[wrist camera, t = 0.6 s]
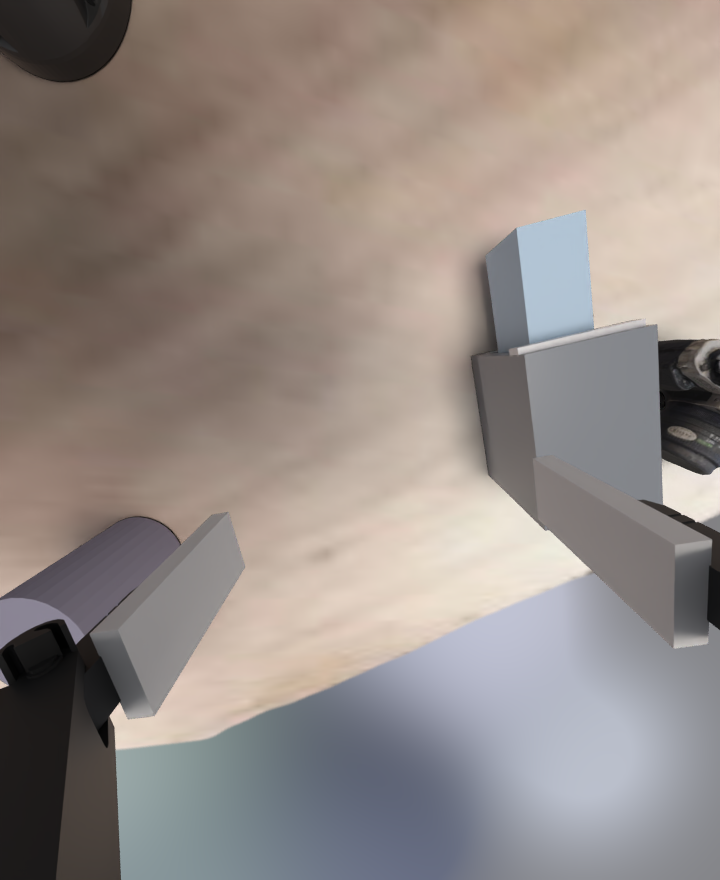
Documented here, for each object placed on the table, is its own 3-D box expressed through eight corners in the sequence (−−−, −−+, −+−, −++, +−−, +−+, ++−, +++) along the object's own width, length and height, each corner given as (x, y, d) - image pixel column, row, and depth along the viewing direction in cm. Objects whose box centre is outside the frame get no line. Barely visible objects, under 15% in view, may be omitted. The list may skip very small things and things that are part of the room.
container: (151, 502, 42) (35, 578, 27) (200, 566, 44) (115, 669, 29) (89, 538, 43) (-53, 628, 29) (139, 598, 45) (29, 712, 31)
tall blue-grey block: (485, 255, 32) (516, 227, 25) (539, 242, 31) (585, 209, 25) (509, 436, 36) (542, 454, 29) (557, 426, 35) (601, 442, 29)
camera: (584, 413, 38) (658, 432, 28) (647, 330, 36) (750, 320, 26) (693, 481, 39) (799, 521, 30) (760, 405, 37) (898, 421, 27)
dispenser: (469, 351, 37) (523, 347, 24) (554, 331, 36) (656, 316, 23) (488, 475, 40) (545, 530, 27) (566, 459, 39) (662, 508, 26)
